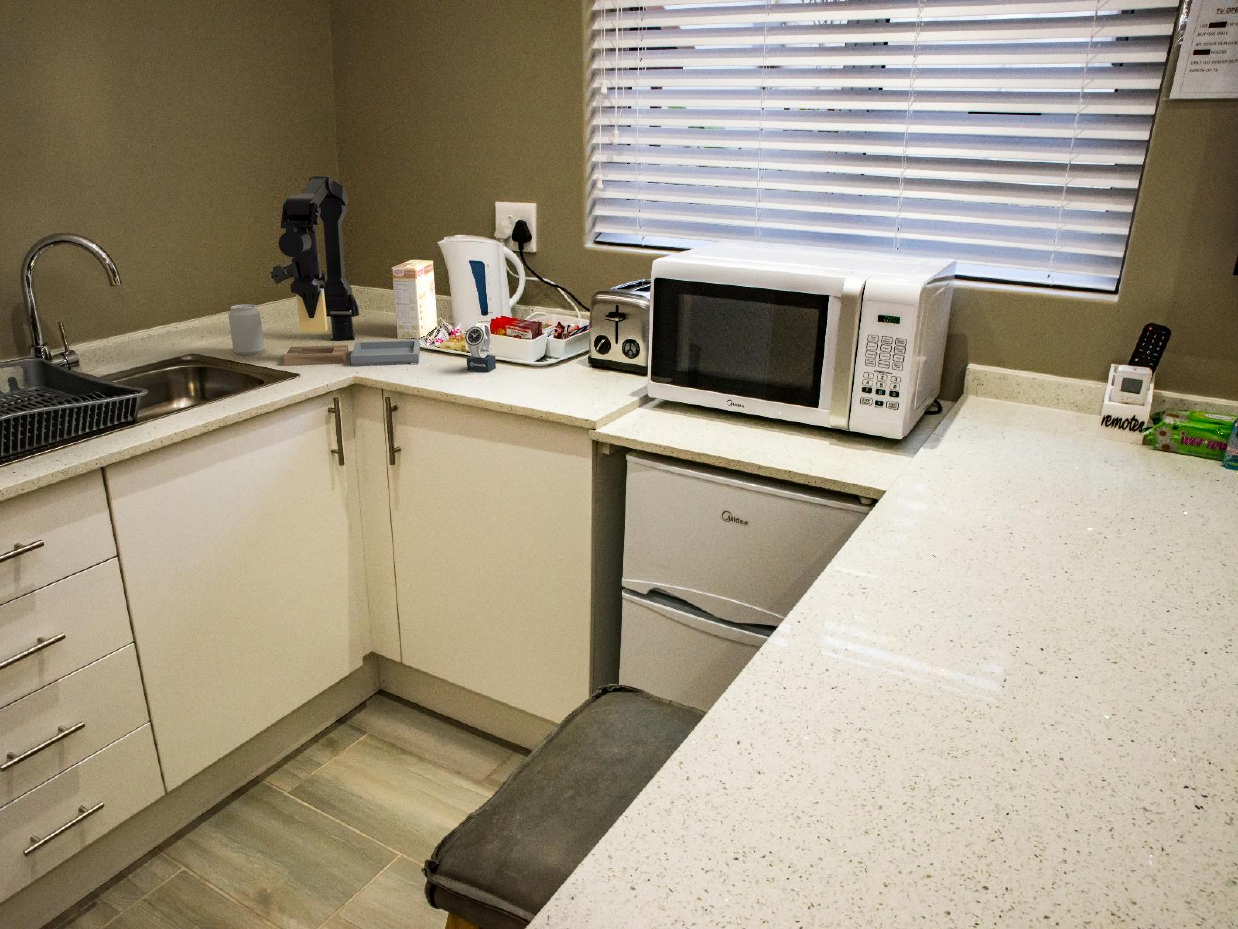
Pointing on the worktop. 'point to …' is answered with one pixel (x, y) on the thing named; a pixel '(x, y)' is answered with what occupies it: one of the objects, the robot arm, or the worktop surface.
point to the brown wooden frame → (316, 355)
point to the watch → (479, 340)
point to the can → (246, 329)
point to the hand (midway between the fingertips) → (312, 316)
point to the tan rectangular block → (319, 319)
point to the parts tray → (385, 352)
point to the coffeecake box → (414, 298)
